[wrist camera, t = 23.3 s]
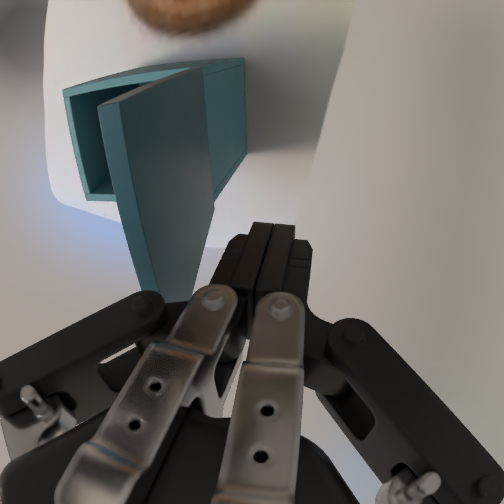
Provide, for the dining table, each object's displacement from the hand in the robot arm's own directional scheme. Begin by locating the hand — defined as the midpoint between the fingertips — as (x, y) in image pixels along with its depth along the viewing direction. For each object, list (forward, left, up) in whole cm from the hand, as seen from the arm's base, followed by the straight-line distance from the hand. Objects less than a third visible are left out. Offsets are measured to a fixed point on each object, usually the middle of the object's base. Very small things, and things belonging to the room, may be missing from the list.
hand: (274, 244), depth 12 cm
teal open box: (-10, -10, -26) cm, 30 cm away
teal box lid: (-4, -4, -5) cm, 8 cm away
